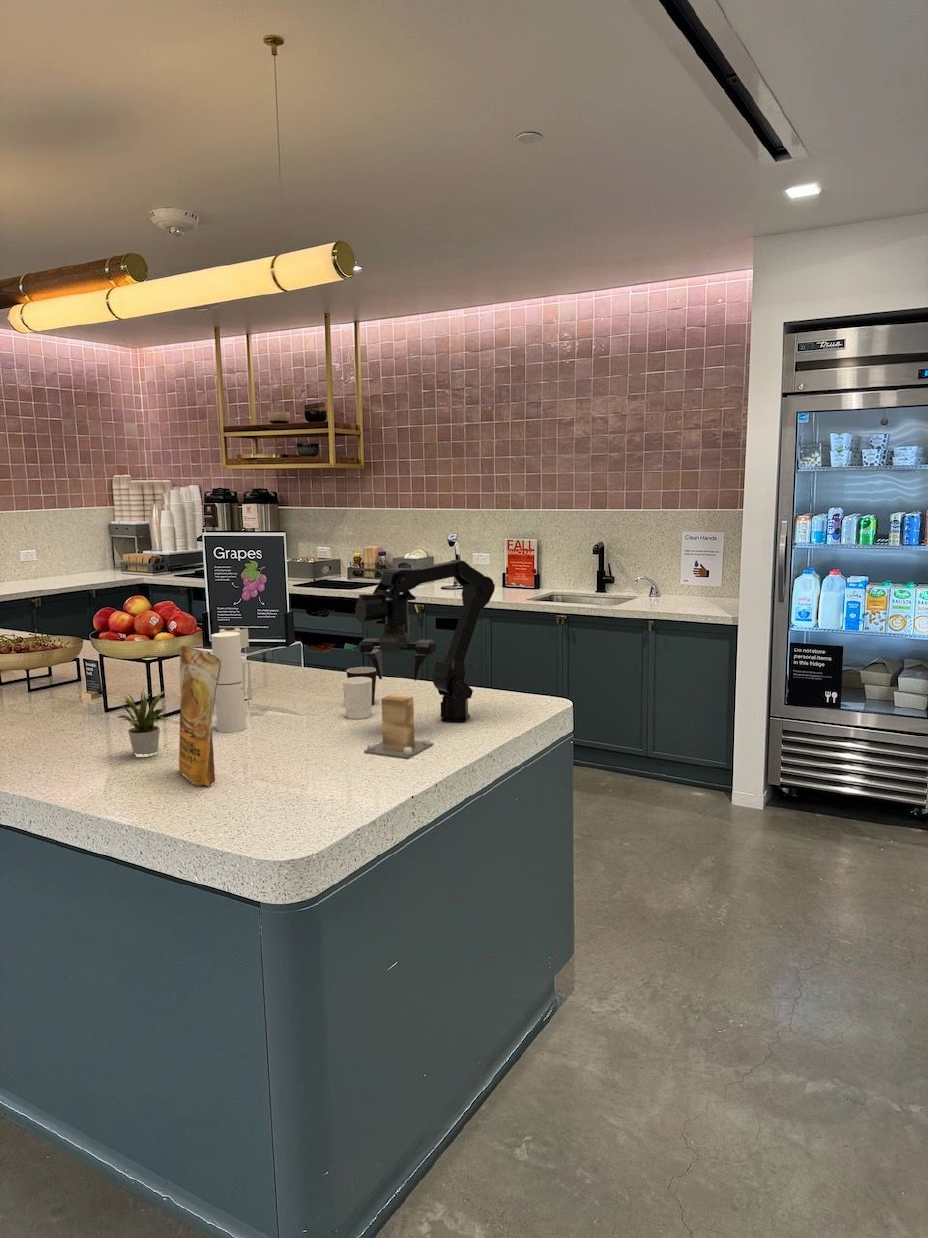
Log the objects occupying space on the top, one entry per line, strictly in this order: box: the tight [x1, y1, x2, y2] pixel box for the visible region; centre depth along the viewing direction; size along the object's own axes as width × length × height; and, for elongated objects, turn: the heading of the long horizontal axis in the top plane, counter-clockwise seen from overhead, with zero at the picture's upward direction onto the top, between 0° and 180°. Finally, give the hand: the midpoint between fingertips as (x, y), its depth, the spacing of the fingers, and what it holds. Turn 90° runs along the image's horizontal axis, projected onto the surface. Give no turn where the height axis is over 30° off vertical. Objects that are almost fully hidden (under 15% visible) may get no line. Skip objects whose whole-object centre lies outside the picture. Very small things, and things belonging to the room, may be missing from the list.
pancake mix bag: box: [178, 645, 221, 788], centre depth 195 cm, size 7×19×28 cm, turn 35°
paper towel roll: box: [218, 627, 253, 700], centre depth 264 cm, size 7×6×21 cm
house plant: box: [112, 687, 167, 755], centre depth 212 cm, size 14×14×16 cm
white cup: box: [342, 677, 373, 720], centre depth 245 cm, size 8×8×10 cm
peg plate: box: [363, 736, 435, 760], centre depth 214 cm, size 12×12×2 cm
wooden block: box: [381, 693, 416, 751], centre depth 213 cm, size 4×6×12 cm
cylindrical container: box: [210, 632, 247, 734], centre depth 233 cm, size 7×7×25 cm
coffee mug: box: [345, 666, 377, 706], centre depth 259 cm, size 12×9×10 cm
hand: (398, 679), depth 229 cm, fingers open, 9 cm apart
